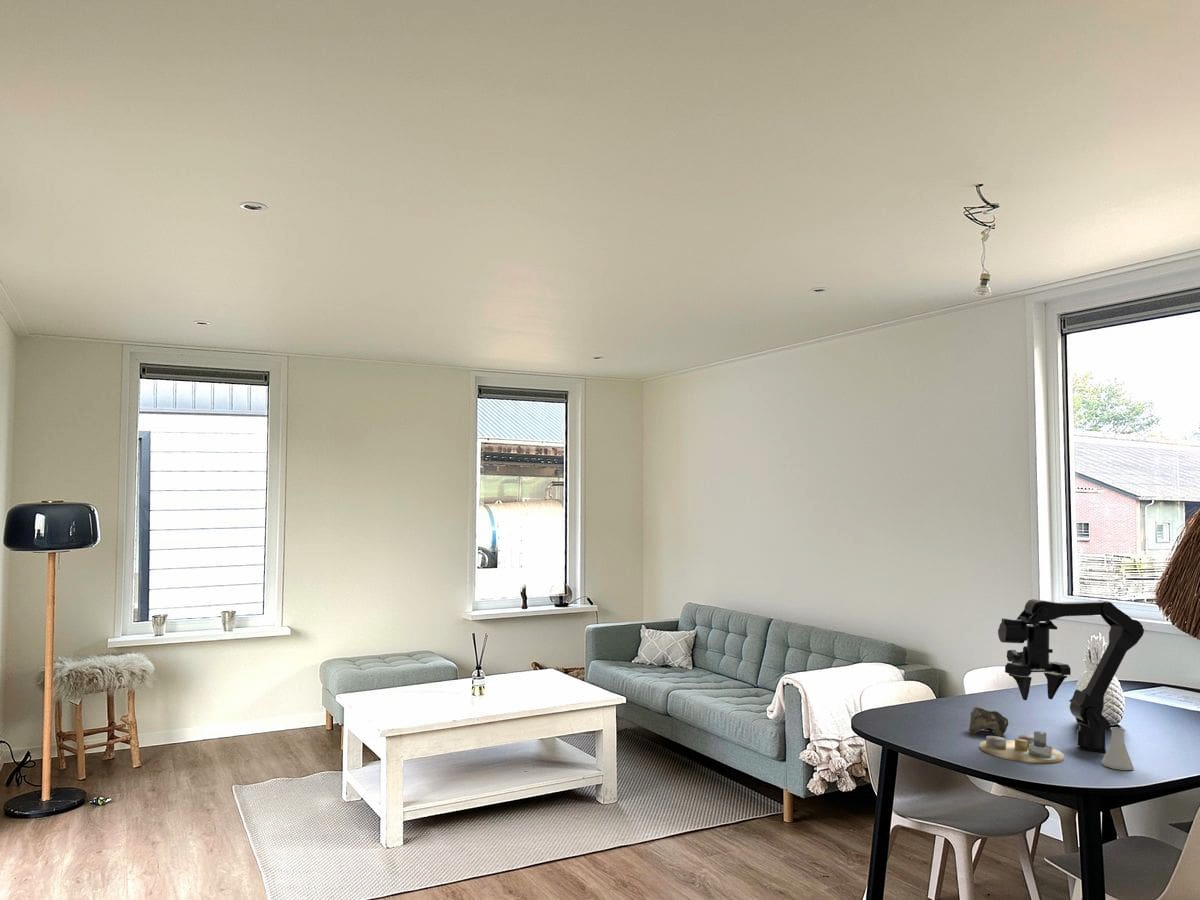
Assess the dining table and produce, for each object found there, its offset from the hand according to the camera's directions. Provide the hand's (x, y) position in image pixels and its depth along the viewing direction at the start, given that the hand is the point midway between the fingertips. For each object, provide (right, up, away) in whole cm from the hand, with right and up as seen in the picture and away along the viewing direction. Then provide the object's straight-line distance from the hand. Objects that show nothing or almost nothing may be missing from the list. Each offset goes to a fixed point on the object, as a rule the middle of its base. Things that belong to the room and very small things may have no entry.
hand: (1037, 699), depth 256 cm
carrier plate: (-9, -12, -9) cm, 18 cm away
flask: (+11, -13, -20) cm, 26 cm away
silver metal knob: (-7, -11, -15) cm, 20 cm away
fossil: (-9, -14, +12) cm, 20 cm away
